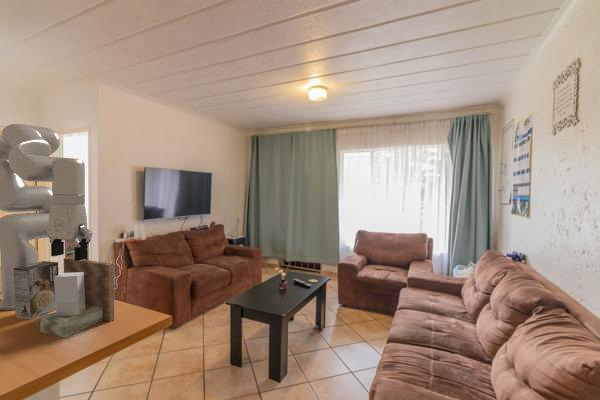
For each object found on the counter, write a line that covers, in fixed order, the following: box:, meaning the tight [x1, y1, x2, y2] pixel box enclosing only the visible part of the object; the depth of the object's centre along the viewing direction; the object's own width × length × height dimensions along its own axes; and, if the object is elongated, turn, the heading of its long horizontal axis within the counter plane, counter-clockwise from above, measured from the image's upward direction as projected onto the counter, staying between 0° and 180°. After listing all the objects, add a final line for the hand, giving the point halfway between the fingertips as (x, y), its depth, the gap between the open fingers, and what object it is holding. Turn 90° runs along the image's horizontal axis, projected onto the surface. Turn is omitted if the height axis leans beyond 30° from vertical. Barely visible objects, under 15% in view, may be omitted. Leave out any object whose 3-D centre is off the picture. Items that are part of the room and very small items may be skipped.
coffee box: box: [13, 260, 60, 321], centre depth 94 cm, size 9×6×16 cm
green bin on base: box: [39, 256, 115, 338], centre depth 88 cm, size 20×12×18 cm, turn 72°
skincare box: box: [54, 272, 86, 317], centre depth 85 cm, size 6×4×12 cm
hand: (69, 257), depth 85 cm, fingers open, 9 cm apart
